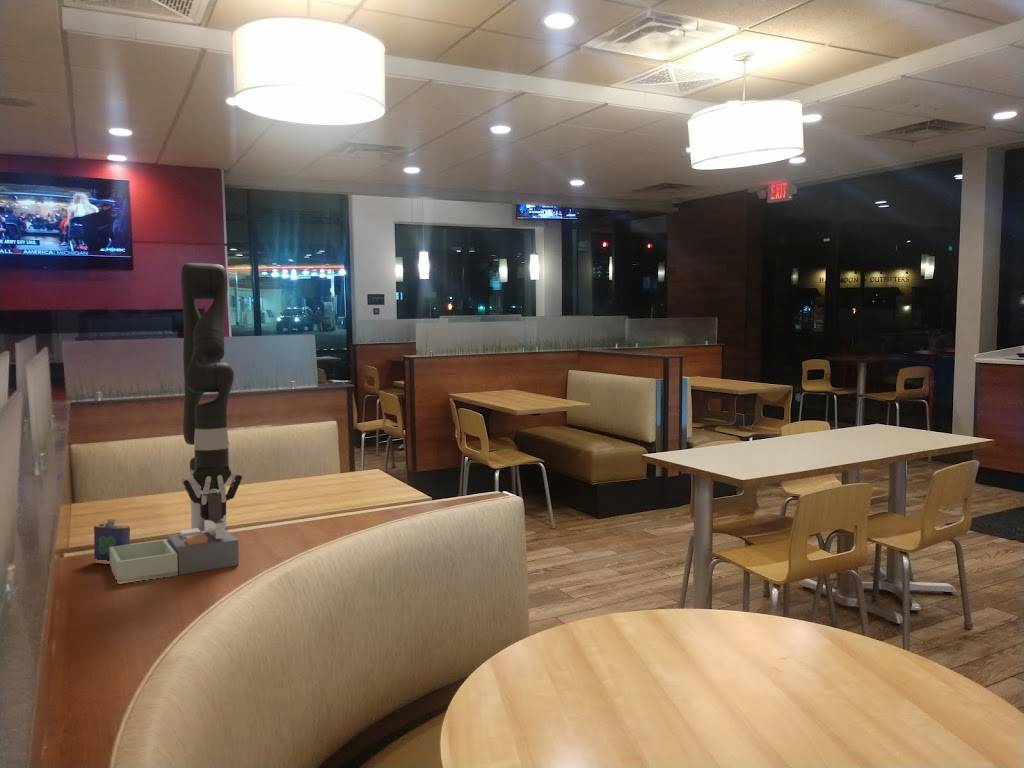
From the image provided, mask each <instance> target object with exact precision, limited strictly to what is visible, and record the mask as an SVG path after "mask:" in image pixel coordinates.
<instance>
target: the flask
mask: <svg viewBox="0 0 1024 768" xmlns="http://www.w3.org/2000/svg"><path fill="white" fill-rule="evenodd" d="M115 522H116V518H106V523H105V522H102V523H99V524H95V525H94V527H93V531H94V532H93V539H94V547H93V550H94V551H93V552H94V554H93V555H94V560H95V559H97V560H107V561H110V550H109V547H112V546H119V545H127V544H131V535H130V534H131V529H130V528H131V527H130V525H115Z"/></svg>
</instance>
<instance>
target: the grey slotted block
mask: <svg viewBox="0 0 1024 768" xmlns="http://www.w3.org/2000/svg"><path fill="white" fill-rule="evenodd" d="M201 534H204V535H205V536H206V537H207V543H201V544H194V545H188V544H187V543H186V541H185V539H183V538H182V537H181V536H180V533H175V534H169V535H166V536H167V541H168V543H169V544H170V545H171V546H172V548H173V549H174V550H175V551H176V552H177V559H178V576H179V575H186V574H192V573H198V572H205V571H211V570H217V569H218V570H219V569H223V568H230V567H235V566H239V562H240V560H239V539H238V538H237V537H235V536H234V535H233V534H232V533H230V531H228V530H227V528H225V538H218V539H216V538H214V537H213V536H212V535H211V534H209V533H208V532H207V531H206V530H205V531H201Z"/></svg>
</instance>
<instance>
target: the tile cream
mask: <svg viewBox="0 0 1024 768" xmlns="http://www.w3.org/2000/svg"><path fill="white" fill-rule="evenodd" d="M179 534H180V536H181V537H182V538H183V539H185V536H192V535H199V534H201V531H200V530H199V529H198V528H194V529H191V528H187V529H181V530H179Z"/></svg>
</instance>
